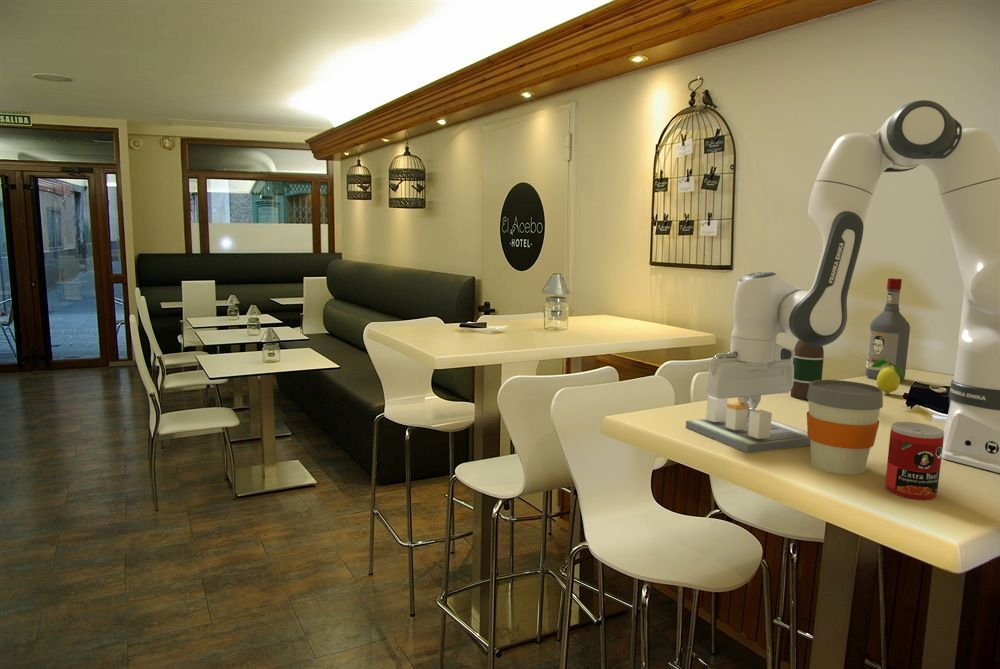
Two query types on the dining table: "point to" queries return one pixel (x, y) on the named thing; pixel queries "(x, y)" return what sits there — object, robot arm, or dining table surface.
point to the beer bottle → (806, 368)
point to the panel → (741, 440)
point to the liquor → (888, 334)
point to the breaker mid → (736, 416)
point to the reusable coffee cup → (842, 424)
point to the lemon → (888, 376)
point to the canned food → (914, 460)
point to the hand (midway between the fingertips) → (747, 416)
